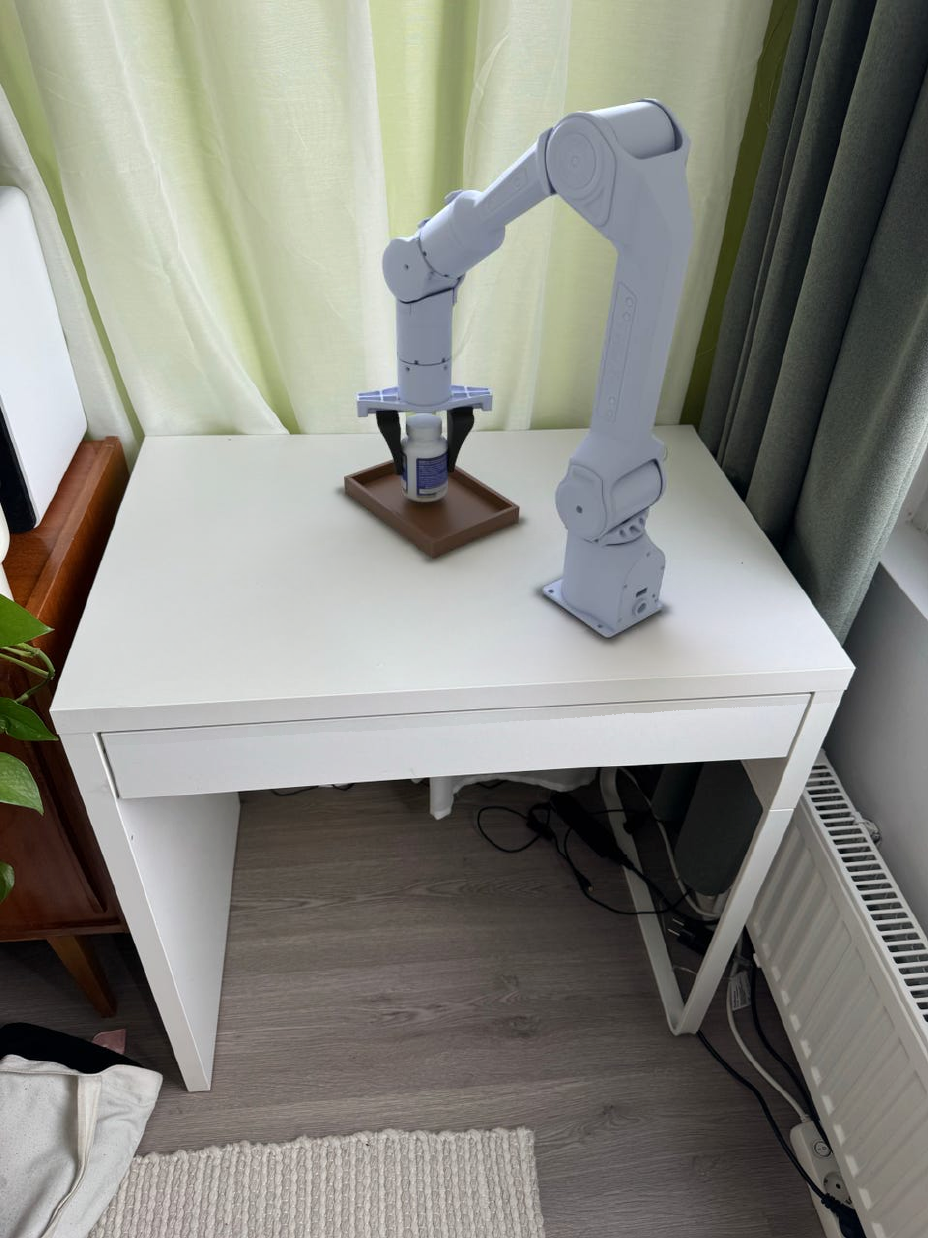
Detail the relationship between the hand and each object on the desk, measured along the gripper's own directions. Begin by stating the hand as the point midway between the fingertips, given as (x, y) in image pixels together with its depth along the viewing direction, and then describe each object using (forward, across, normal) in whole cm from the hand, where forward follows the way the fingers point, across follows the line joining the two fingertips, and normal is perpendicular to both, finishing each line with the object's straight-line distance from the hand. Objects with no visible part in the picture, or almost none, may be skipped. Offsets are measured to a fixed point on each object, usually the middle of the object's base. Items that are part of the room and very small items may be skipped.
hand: (424, 469), depth 105 cm
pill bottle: (+3, 0, 0) cm, 3 cm away
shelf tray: (+4, 0, +1) cm, 5 cm away
